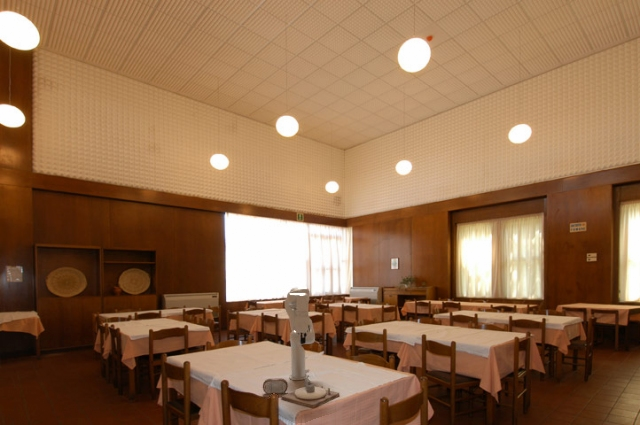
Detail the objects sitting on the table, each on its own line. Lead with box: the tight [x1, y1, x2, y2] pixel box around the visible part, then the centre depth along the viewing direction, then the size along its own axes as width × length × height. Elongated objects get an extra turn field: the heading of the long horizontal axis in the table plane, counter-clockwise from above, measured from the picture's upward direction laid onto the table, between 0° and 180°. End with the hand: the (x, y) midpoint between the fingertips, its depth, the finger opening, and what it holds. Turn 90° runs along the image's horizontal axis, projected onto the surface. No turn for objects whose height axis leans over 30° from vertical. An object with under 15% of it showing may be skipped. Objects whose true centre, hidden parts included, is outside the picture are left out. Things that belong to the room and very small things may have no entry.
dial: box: [294, 378, 327, 400], centre depth 222 cm, size 18×18×6 cm
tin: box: [262, 378, 289, 395], centre depth 230 cm, size 15×3×8 cm, turn 92°
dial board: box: [280, 385, 340, 409], centre depth 221 cm, size 24×24×6 cm
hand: (303, 343), depth 241 cm, fingers closed
